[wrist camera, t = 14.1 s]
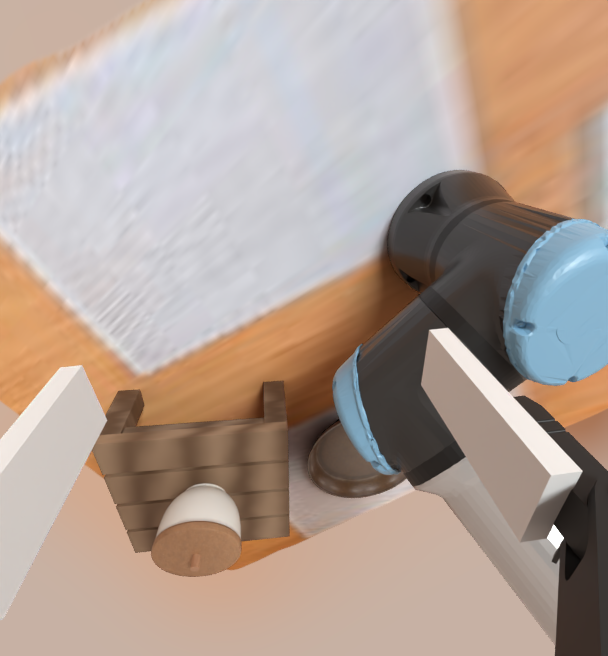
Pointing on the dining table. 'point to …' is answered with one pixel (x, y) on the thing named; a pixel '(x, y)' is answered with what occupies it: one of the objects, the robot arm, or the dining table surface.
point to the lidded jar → (198, 533)
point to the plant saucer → (345, 467)
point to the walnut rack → (197, 465)
